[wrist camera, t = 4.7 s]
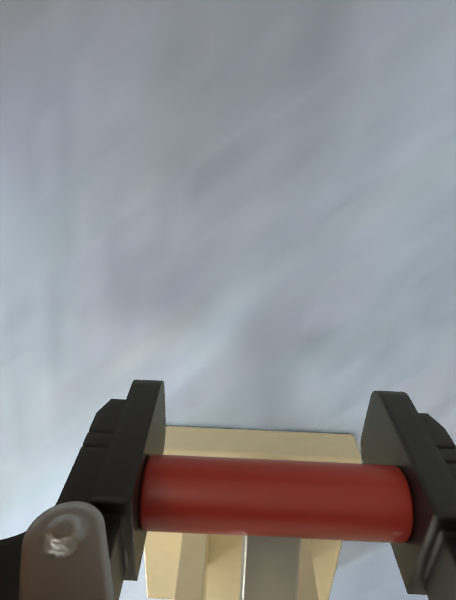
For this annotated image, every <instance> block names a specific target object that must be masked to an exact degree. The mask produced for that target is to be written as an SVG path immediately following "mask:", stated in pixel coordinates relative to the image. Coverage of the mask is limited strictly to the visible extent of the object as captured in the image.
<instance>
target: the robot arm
mask: <svg viewBox="0 0 456 600" xmlns="http://www.w3.org/2000/svg"><path fill="white" fill-rule="evenodd" d="M165 434H166V422H165V391H164V382H163V381H156V380H134V381H133V382H132V385H131V388H130V391H129V393H128V396H127V399H126V400H122V399H111V400H110V401H109V402H107V403H106V404H105V405H104V406H103V407H102V408H101V409H100V410H99V411H98V412H97V413H96V415H95V417H94V420H93V422H92V424H91V427H90V429H89V433H87V436H86V438H85V440H84V442H83V447H81V449H80V451H79V454H78V456H77V458H76V461H75V463H74V465H73V467H72V470H71V472H70V474H69V476H68V479H67V481H66V483H65V486H64V488H63V490H62V492H61V495H60V497H59V499H58V501H57V503H56V505H55V506H54V507H52V508H50V509H48V510H46V511H45V512H43V513H42V514H41V515H40V516H38V517H37V518H36V519H35V520H34V521H33V522H32V524H31V525H30V526H29V528H28V529H27V531H26V532H24V533H21V534H19V535H17V536H13V537H10V538H7V539H3V540H0V600H119V597H120V592H121V588H122V584H123V580H133V581H137V579H138V574H139V569H140V564H141V559H142V554H143V550H144V545H145V540H146V535H147V531H143V530H142V529H141V527H140V522H139V502H140V491H141V484H142V477H143V472H144V468H145V464H146V461H147V459H148V457H149V456H150V455H152V454H163V452H164V445H165ZM361 455H362V460H363V464H382V465H395V466H397V467H399V468H400V469H401V470H402V472H403V473H404V475H405V477H406V479H407V482H408V484H409V488H410V492H411V496H412V502H413V529H412V533H411V536H410V538H409V539H408V541H406V542H404V543H391V546H392V549H393V552H394V555H395V558H396V561H397V564H398V567H399V569H400V572H401V575H402V578H403V581H404V584H405V587H406V590H407V593H408V594H421V595H427V596H428V598H429V600H456V446H455V444H454V443H453V441H452V439H451V438H450V436H449V434H448V433H447V431H446V430H445V428H444V427H442V426H441V425H440V424H439V423H438V422H437V421H435V420H434V419H433V418H432V417H431V416H430V415H429V414H426V413H418V412H417V410H416V409H415V407H414V405H413V403H412V401H411V400H410V398H409V396H408V395H407V394H406V393H405V392H393V391H373V393H372V394H371V397H370V401H369V406H368V410H367V414H366V419H365V423H364V427H363V432H362V436H361Z"/></svg>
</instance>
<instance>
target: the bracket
mask: <svg viewBox="0 0 456 600" xmlns="http://www.w3.org/2000/svg"><path fill="white" fill-rule="evenodd" d="M163 454H164V455H186V456H208V457H230V458H251V459H273V460H295V461H317V462H339V463H360V464H361V460H362V458H361V455H360V452H359V449H358V446H357V443H356V440H355V437H354V435H352V434H332V433H310V432H288V431H266V430H244V429H223V428H201V427H179V426H166V434H165V445H164V452H163ZM341 544H342V540H323V539H301V550H300V564H299V579H298V594H297V600H328V599H329V595H330V591H331V586H332V582H333V578H334V574H335V570H336V565H337V561H338V557H339V553H340V549H341ZM241 555H242V536H236V535H215V534H193V533H171V532H150V531H147V535H146V540H145V545H144V560H145V574H146V588H147V597H148V598H157V599H174V600H239V593H240V574H241Z"/></svg>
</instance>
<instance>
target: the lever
mask: <svg viewBox="0 0 456 600" xmlns="http://www.w3.org/2000/svg"><path fill="white" fill-rule="evenodd" d="M139 522H140V527H141V529H142V530H143V531H150V532H171V533H193V534H215V535H236V536H242V555H241V574H240V593H239V600H297V594H298V579H299V564H300V550H301V539H323V540H344V541H366V542H388V543H404V542H406V541H408V539H409V538H410V536H411V533H412V529H413V502H412V496H411V492H410V488H409V484H408V482H407V479H406V477H405V475H404V473H403V472H402V470H401V469H400V468H399V467H397V466H395V465H382V464H360V463H339V462H317V461H295V460H273V459H251V458H230V457H208V456H186V455H164V454H152V455H150V456H149V457H148V459H147V461H146V464H145V468H144V472H143V477H142V484H141V491H140V502H139Z"/></svg>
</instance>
